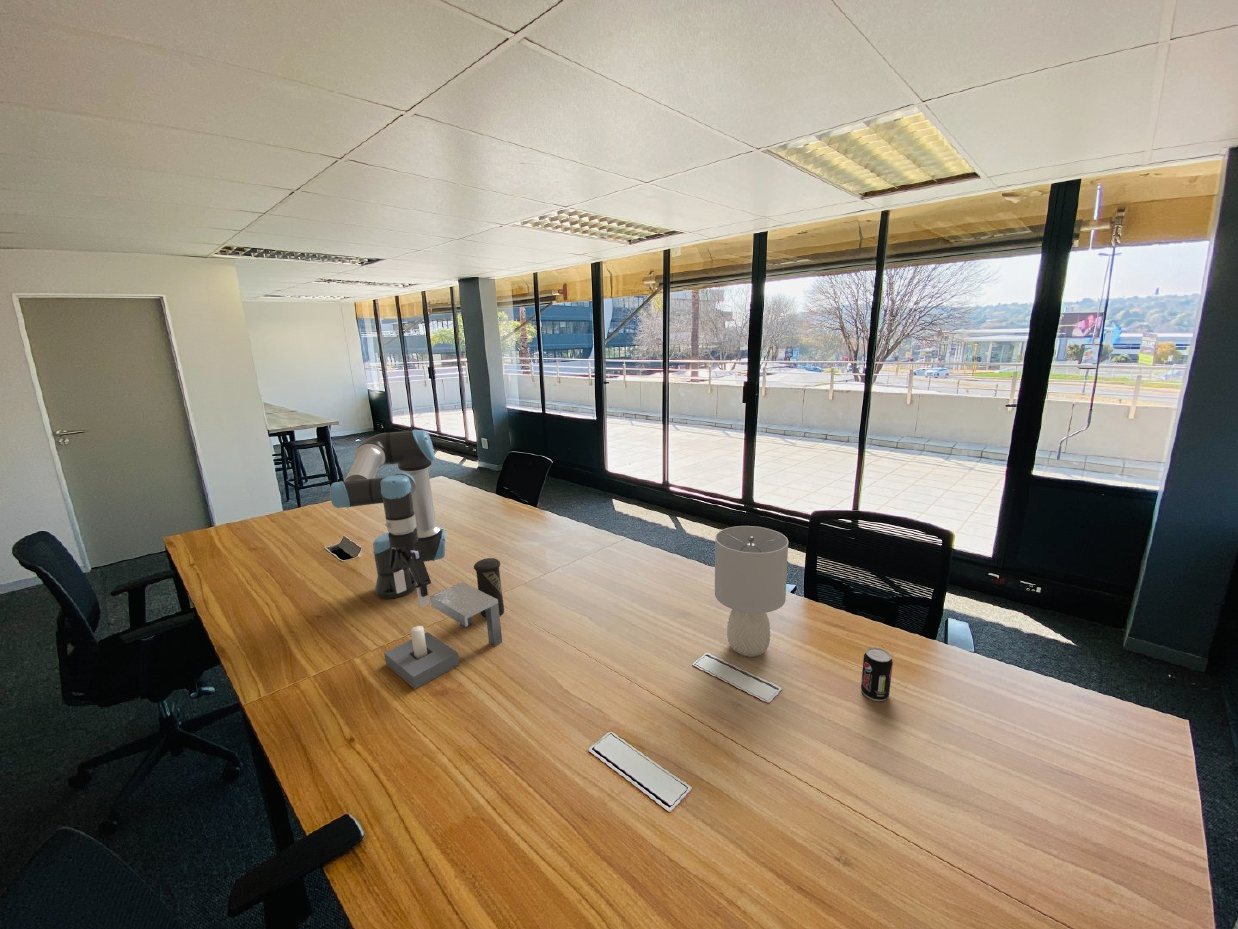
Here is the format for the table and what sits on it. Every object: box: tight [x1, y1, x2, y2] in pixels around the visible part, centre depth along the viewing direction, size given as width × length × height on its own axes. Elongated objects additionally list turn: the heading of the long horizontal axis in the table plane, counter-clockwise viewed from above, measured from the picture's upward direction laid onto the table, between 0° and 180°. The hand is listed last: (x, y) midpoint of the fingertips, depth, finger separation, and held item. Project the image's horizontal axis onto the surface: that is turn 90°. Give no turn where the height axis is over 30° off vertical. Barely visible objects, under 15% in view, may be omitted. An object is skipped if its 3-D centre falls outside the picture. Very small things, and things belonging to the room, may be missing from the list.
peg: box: [410, 625, 428, 660], centre depth 148 cm, size 4×4×12 cm
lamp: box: [714, 525, 789, 658], centre depth 146 cm, size 20×20×37 cm
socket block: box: [383, 631, 460, 690], centre depth 149 cm, size 18×14×4 cm
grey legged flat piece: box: [429, 581, 503, 647], centre depth 159 cm, size 20×12×15 cm, turn 50°
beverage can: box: [860, 647, 894, 702], centre depth 128 cm, size 7×7×12 cm
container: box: [473, 557, 505, 619], centre depth 175 cm, size 9×9×20 cm
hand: (412, 598), depth 144 cm, fingers open, 13 cm apart
